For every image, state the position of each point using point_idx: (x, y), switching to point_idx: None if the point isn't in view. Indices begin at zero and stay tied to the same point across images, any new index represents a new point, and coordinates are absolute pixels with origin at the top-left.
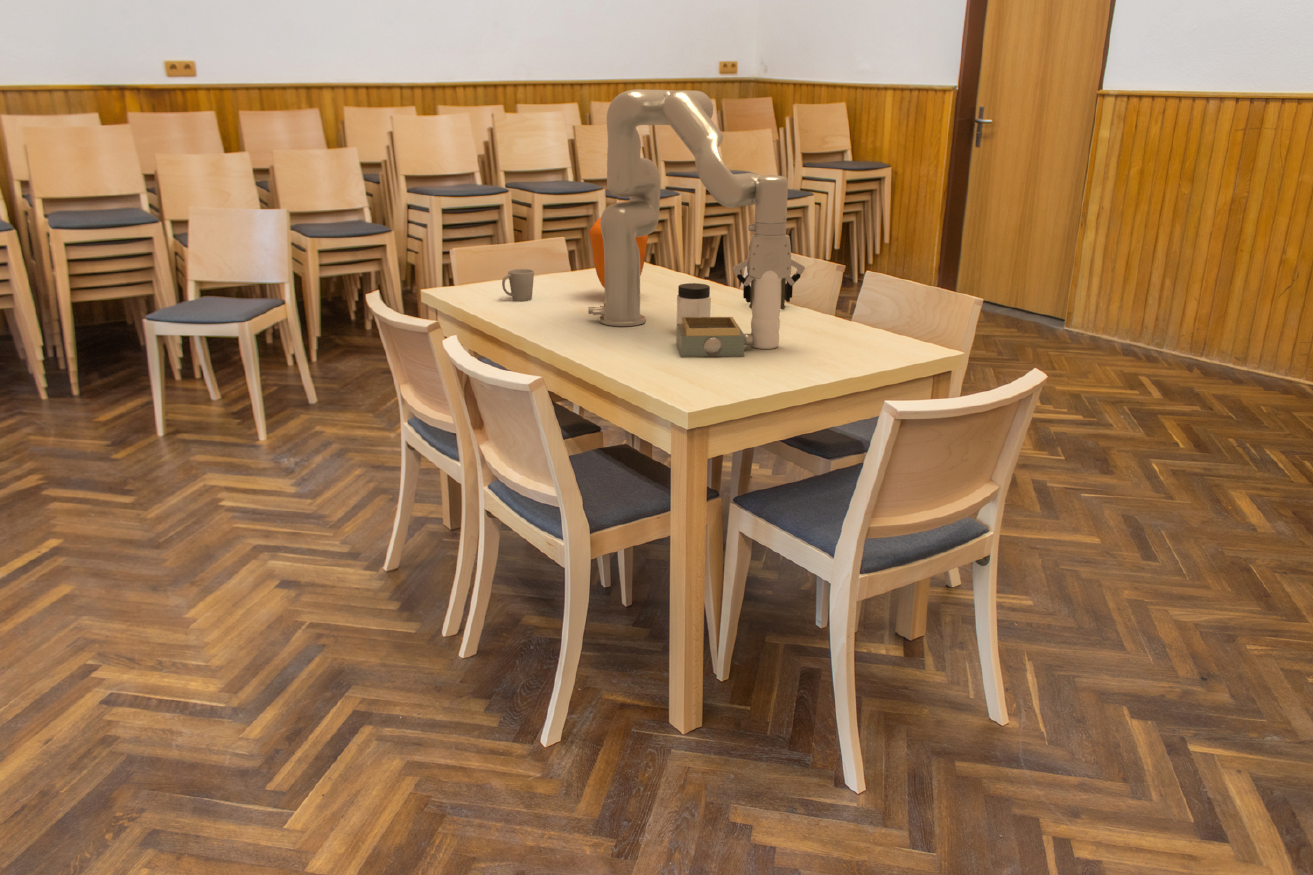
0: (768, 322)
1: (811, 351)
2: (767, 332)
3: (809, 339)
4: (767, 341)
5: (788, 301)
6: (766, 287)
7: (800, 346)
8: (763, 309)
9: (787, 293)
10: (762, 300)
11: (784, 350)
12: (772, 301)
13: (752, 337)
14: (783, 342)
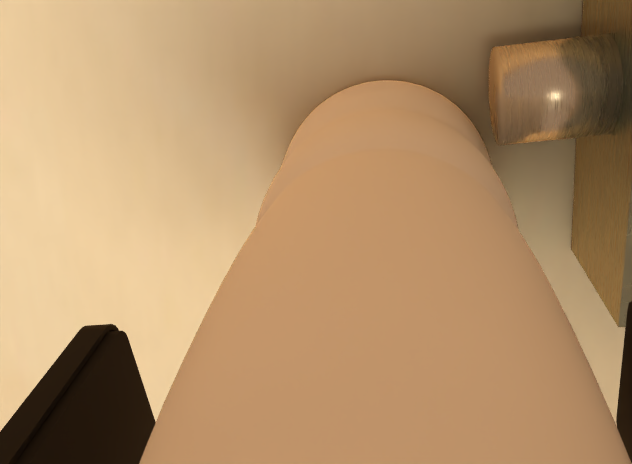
0: (366, 138)
1: (68, 61)
2: (373, 111)
3: None
4: (372, 88)
5: (101, 325)
6: (422, 375)
7: (148, 188)
8: (433, 189)
9: (69, 398)
10: (465, 243)
11: (250, 74)
12: (309, 235)
13: (510, 60)
14: None
